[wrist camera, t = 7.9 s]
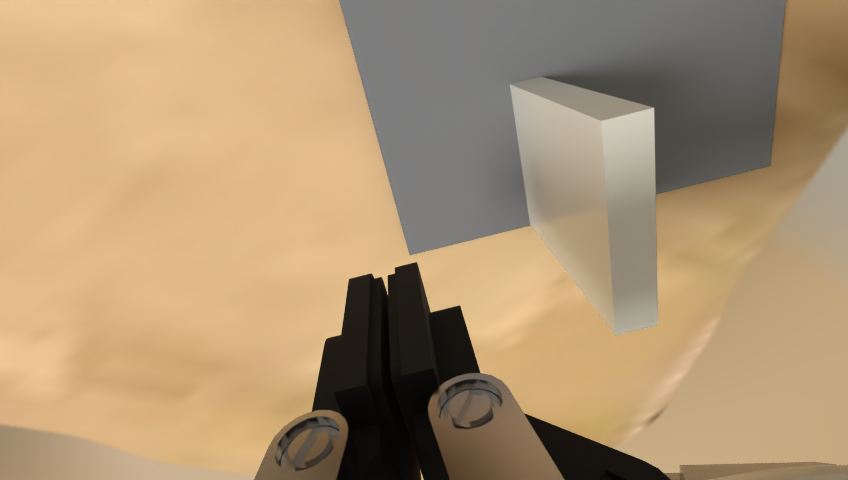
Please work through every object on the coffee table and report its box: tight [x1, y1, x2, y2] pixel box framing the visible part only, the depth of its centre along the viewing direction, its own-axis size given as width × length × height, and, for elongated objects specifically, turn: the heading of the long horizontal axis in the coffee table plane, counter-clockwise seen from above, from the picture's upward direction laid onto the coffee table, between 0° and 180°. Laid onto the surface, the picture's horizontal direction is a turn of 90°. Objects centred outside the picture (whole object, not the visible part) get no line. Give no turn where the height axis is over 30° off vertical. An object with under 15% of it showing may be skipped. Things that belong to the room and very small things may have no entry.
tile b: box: [510, 77, 658, 335], centre depth 15 cm, size 6×1×8 cm, turn 13°
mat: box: [339, 0, 786, 255], centre depth 17 cm, size 16×16×1 cm
